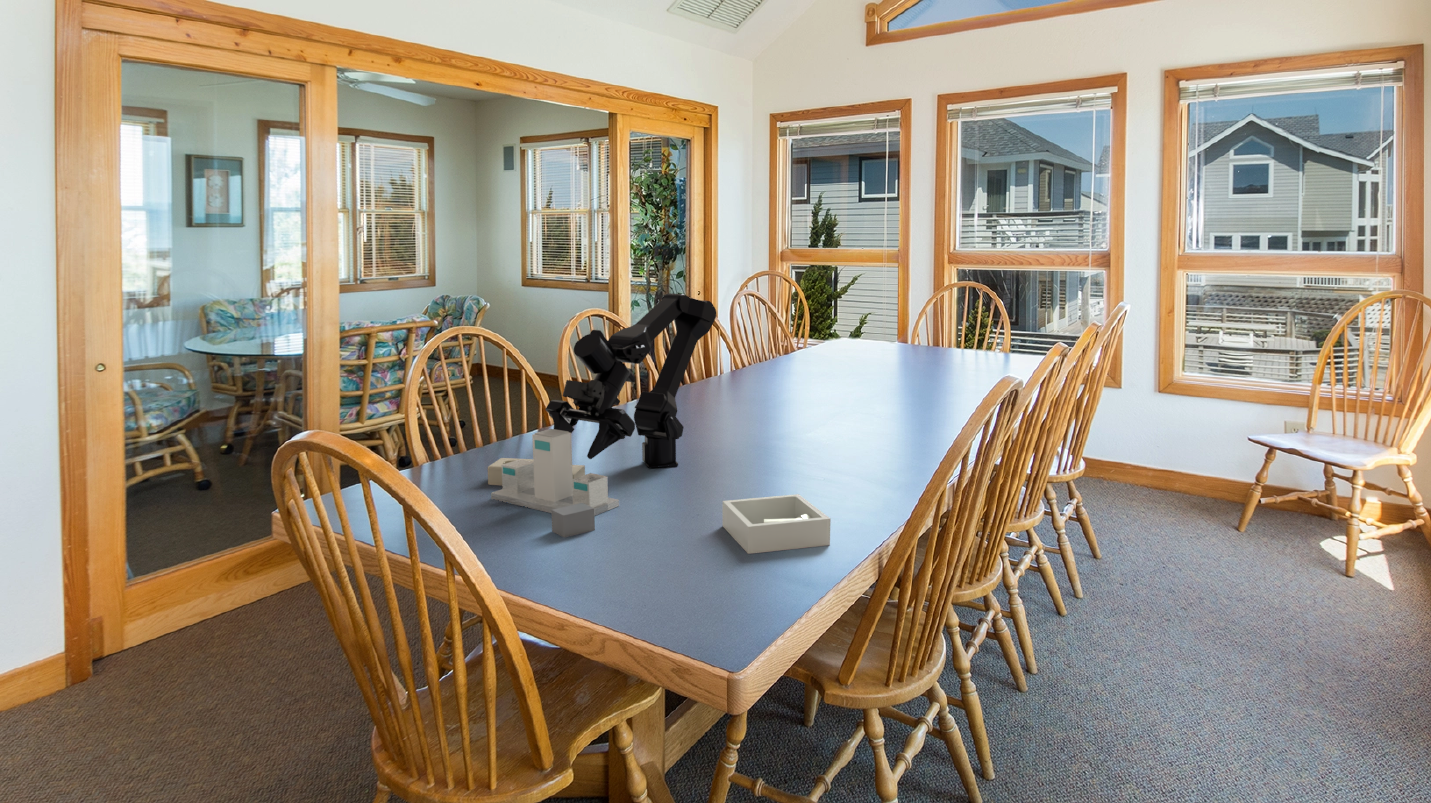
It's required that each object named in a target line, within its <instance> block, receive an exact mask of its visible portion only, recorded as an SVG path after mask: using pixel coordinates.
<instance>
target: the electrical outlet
mask: <svg viewBox="0 0 1431 803" xmlns="http://www.w3.org/2000/svg"><path fill="white" fill-rule="evenodd" d="M519 459H520V458H510V457H509V458H508V457H500V458H498V459H497V460H495V461H494V462H493V463H491V464H490V465H488V466H487V484H488V485H491V486H502V468H501V465H502V464H506V463H509V462H513V461H516V460H519ZM521 459H522V460H527V461H532V462H533V458H529V459H528V458H521ZM572 473H573V479H575V478H578V477H581V476H583V475H586V465H584V464H583V465H581V464H572Z"/></svg>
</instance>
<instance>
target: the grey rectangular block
mask: <svg viewBox="0 0 1431 803" xmlns="http://www.w3.org/2000/svg"><path fill="white" fill-rule="evenodd" d="M550 514H551V532H552V533H554V534H557V535H558V536H560V537H562V538H568V537H573V536H577V535H581V534H584V533H589V532H592V531H596V523H595V522H596V521H595V518H596V517H595V516H596V515H594V508H592V507H590V506H588V505H586V504H583V503H579V504H575V505H570V506H566V507H561V508H557V509H552V510H551V513H550Z"/></svg>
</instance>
